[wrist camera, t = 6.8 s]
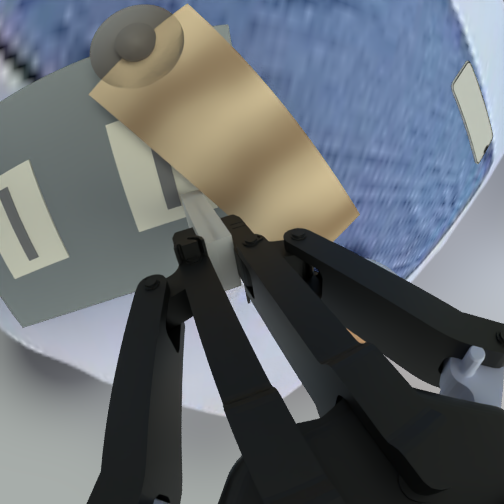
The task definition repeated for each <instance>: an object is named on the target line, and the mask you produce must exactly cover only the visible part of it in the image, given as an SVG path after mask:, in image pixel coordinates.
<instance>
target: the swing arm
mask: <svg viewBox="0 0 504 504" xmlns="http://www.w3.org/2000/svg"><path fill="white" fill-rule="evenodd" d="M90 61H91V65H92V67H93V69H94V71H95V73H96V74H97V76H98V77H99V78H100V79H101V81H100V82H99V83H98V84H97V85H96V86H95V88H94V89H93V90H92V91H91V92H90V93H89V95H90V96H91V97H92V98H93V99H95V100H96V101H97V102H98V103H99V104H100V105H102V106H103V107H104V108H105V109H106V110H107V111H109V112H110V113H111V114H112V115H113V116H115V117H116V118H117V119H118V120H119V121H120V122H122V123H123V124H124V125H125V126H126V127H127V128H129V129H130V130H131V131H132V132H133V133H134V134H136V135H137V136H138V137H139V138H140V139H141V140H143V141H144V142H145V143H146V144H147V145H148V146H149V147H151V148H152V149H153V150H154V151H155V152H156V153H158V154H159V155H160V156H161V157H162V158H163V159H164V160H166V161H167V162H168V163H169V164H170V165H171V166H173V167H174V168H175V169H176V170H177V171H178V172H179V173H181V174H182V175H183V176H184V177H185V178H186V179H187V180H189V181H190V182H191V183H192V184H193V185H194V186H195V187H197V188H198V189H199V190H200V191H201V192H202V193H203V194H205V195H206V196H207V197H208V198H209V199H210V200H211V201H213V202H214V203H215V204H216V205H217V206H218V207H219V208H220V209H222V210H223V211H224V212H225V213H226V214H227V215H228V216H229V215H232V214H234V215H236V216H239V217H240V218H241V219H242V220H243V222H245V224H246V225H247V226H248V227H249V228H250V229H251V231H252V232H253V233H254V234H259V235H262V236H264V237H265V238H266V239H267V240H268V241H280V240H284V239H283V235H284V233H285V232H287V231H288V230H291V229H294V228H304V229H307V230H310V231H312V232H314V233H316V234H318V235H320V236H322V237H324V238H326V239H328V240H330V241H332V242H333V241H334V240H335V239H336V238H337V237H338V236H339V235H340V234H341V233H342V232H343V231H344V230H345V229H346V228H347V227H348V226H349V225H350V224H351V223H352V222H353V221H354V220H355V219H356V218H357V217H358V216H359V215H360V214H359V212H358V211H357V209H356V207H355V206H354V204H353V202H352V201H351V199H350V198H349V196H348V194H347V193H346V191H345V190H344V188H343V187H342V185H341V184H340V182H339V181H338V179H337V178H336V176H335V175H334V173H333V172H332V170H331V169H330V167H329V166H328V164H327V163H326V161H325V160H324V158H323V157H322V156H321V154H320V153H319V151H318V150H317V149H316V147H315V146H314V144H313V143H312V142H311V140H310V139H309V138H308V136H307V135H306V134H305V132H304V131H303V130H302V128H301V127H300V126H299V124H298V123H297V122H296V120H295V119H294V118H293V116H292V115H291V114H290V113H289V111H288V110H287V109H286V108H285V106H284V105H283V104H282V103H281V101H280V100H279V99H278V98H277V97H276V95H275V94H274V93H273V92H272V91H271V89H270V88H269V87H268V86H267V85H266V83H265V82H264V81H263V80H262V79H261V78H260V77H259V75H258V74H257V73H256V72H255V71H254V70H253V69H252V67H251V66H250V65H249V64H248V63H247V62H246V61H245V60H244V59H243V58H242V57H241V55H240V54H239V53H238V52H237V51H236V50H235V49H234V48H233V47H232V46H231V45H230V44H229V43H228V42H227V41H226V40H225V39H224V38H223V37H222V36H221V35H220V34H219V33H218V32H217V31H216V30H215V29H214V28H213V27H212V26H211V25H210V24H209V23H208V22H207V21H206V20H205V19H204V18H203V17H202V16H200V15H199V14H198V13H197V12H196V11H195V10H194V9H193V8H192V7H191V6H189V5H188V4H186V5H185V6H183V7H182V8H181V9H179V10H178V11H177V12H175V13H174V14H172V13H170V12H169V11H167V10H166V9H164V8H161V7H158V6H154V5H135V6H131V7H127V8H124V9H122V10H120V11H118V12H116V13H114V14H113V15H111V16H110V17H109V18H108V19H106V20H105V21H104V22H103V23H102V24H101V26H100V27H99V28H98V30H97V31H96V33H95V35H94V37H93V39H92V43H91V47H90Z"/></svg>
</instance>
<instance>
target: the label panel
mask: <svg viewBox="0 0 504 504" xmlns="http://www.w3.org/2000/svg"><path fill="white" fill-rule="evenodd" d="M212 27H213V28H214V29H215V30H216V31H217V32H218V33H219V34H220V35H221V36H222V37H223V38H224V39H225V40H226V41H227V42H228V43H229V44H230V45H231V46H232V44H231V38H230V33H229V27H228V25H218V26H212ZM100 81H101V79H100V78H99V77H98V76H97V74H96V73H95V71H94V69H93V67H92V65H91V61H90V57H88V58H85V59H83V60H80V61H78V62H75V63H73V64H71V65H68V66H66V67H64V68H62V69H59V70H57V71H55V72H53V73H51V74H49V75H47V76H45V77H43V78H41V79H39V80H37V81H35V82H33V83H31V84H30V85H28V86H26V87H24V88H22V89H21V90H19V91H17V92H16V93H14V94H12V95H11V96H9V97H7V98H6V99H4V100H3V101H1V102H0V296H1V298H2V299H3V301H4V302H5V304H6V305H7V307H8V308H9V310H10V311H11V312H12V314H13V315H14V317H15V318H16V319H17V321H18V322H19V323H20V325H21V326H22V327H23V328H24V327H27V326H30V325H33V324H36V323H39V322H43V321H46V320H49V319H52V318H55V317H58V316H61V315H64V314H68V313H71V312H74V311H77V310H80V309H83V308H86V307H89V306H92V305H96V304H99V303H102V302H105V301H108V300H111V299H114V298H117V297H120V296H123V295H127V294H130V293H133V292H135V291H136V288H137V286H138V284H139V282H140V281H142V280H143V279H144V278H146V277H148V276H151V275H154V274H160V275H163V276H164V277H165V278H167V277H169V276H170V275H172V274H173V273H174V272H175V271H176V270H177V269H178V266H179V264H178V261H177V258H176V255H175V252H174V249H173V248H174V244H173V240H172V237H173V235H174V233H175V232H179V231H182V230H185V229H188V228H189V226H188V222H187V218H186V215H185V211H184V207H183V203H182V199H181V194H185V193H188V192H192V191H195V190H199V189H198V188H197V187H195V186H194V185H193V184H192V183H191V182H190V181H189V180H187V179H186V178H185V177H184V176H183V175H182V174H181V173H179V172H178V171H177V170H176V169H175V168H174V167H173V166H171V165H170V164H169V163H168V162H167V161H166V160H164V159H163V158H162V157H161V156H160V155H159V154H158V153H156V152H155V151H154V150H153V149H152V148H151V147H149V146H148V145H147V144H146V143H145V142H144V141H143V140H141V139H140V138H139V137H138V136H137V135H136V134H134V133H133V132H132V131H131V130H130V129H129V128H127V127H126V126H125V125H124V124H123V123H122V122H120V121H119V120H118V119H117V118H116V117H115V116H113V115H112V114H111V113H110V112H109V111H107V110H106V109H105V108H104V107H103V106H102V105H100V104H99V103H98V102H97V101H96V100H95V99H93V98H92V97H91V96H90V95H89V93H90V92H91V91H92V90H93V89H94V88H95V86H96V85H97V84H98V83H99V82H100ZM203 195H204V196H205V197H206V199H207V200H208V202H209V203H210V205H211V206H212V208H213V209H214V211H215V212H216V213H217V215H218V216H219V218H222V217H225V216H228V215H227V214H226V213H225V212H224V211H223V210H222V209H220V208H219V207H218V206H217V205H216V204H215V203H214V202H213V201H211V200H210V199H209V198H208V197H207V196H206V195H205V194H203Z"/></svg>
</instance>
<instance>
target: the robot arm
mask: <svg viewBox="0 0 504 504" xmlns="http://www.w3.org/2000/svg"><path fill="white" fill-rule="evenodd" d="M181 199H182V203H183V207H184V211H185V215H186V218H187V222H188V226H189V228H188V229H185V230H182V231H179V232H175V233H174V235H173V237H172V240H173V244H174V248H173V249H174V252H175V255H176V258H177V261H178V264H179V266H178V269H177V270H176V271H175V272H174V273H173V274H172V275H170V276H169V277H167V278H165V277H164V276H163V275H160V274H154V275H151V276H148V277H146V278H144V279H143V280H142V281H140V282H139V284H138V286H137V288H136V291H135V295H134V298H133V302H132V306H131V309H130V313H129V317H128V321H127V324H126V328H125V332H124V336H123V341H122V345H121V349H120V354H119V358H118V363H117V367H116V372H115V377H114V382H113V387H112V393H111V398H110V404H109V410H108V417H107V423H106V430H105V438H104V446H103V455H102V465H101V473H100V475H99V477H98V479H97V481H96V484H95V486H94V488H93V491H92V493H91V495H90V497H89V500H88V502H87V504H180V501H181V495H182V450H181V449H182V448H181V412H182V373H183V350H184V332H185V324H184V321H186V320H188V319H189V318H191V317H192V316H194V320H195V323H196V326H197V329H198V333H199V336H200V339H201V342H202V345H203V348H204V351H205V354H206V357H207V360H208V363H209V366H210V369H211V372H212V375H213V377H214V380H215V383H216V386H217V389H218V391H219V394H220V397H221V400H222V402H223V408H224V411H225V414H226V416H227V419H228V421H229V424H230V427H231V429H232V432H233V434H234V437H235V439H236V442H237V444H238V446H239V449H240V451H241V454H242V456H241V457H240V458H239V459H238V460H237V461H236V463H235V464H234V466H233V467H232V469H231V471H230V472H229V475H228V477H227V480H226V483H225V485H224V488H223V491H222V494H221V497H220V499H219V502H218V504H504V410H503V409H501V402H502V392H503V379H504V324H502V323H499V322H495V321H491V320H488V319H485V318H481V317H477V316H474V315H470V314H467V313H462V312H461V311H459V310H457V309H456V308H454V307H452V306H450V305H449V304H447V303H445V302H443V301H441V300H440V299H438V298H437V297H435V296H433V295H431V294H429V293H428V292H426V291H424V290H422V289H421V288H419V287H417V286H415V285H413V284H412V283H410V282H408V281H406V280H404V279H403V278H401V277H399V276H397V275H395V274H393V273H392V272H390V271H388V270H386V269H384V268H382V267H380V266H378V265H377V264H375V263H373V262H371V261H369V260H367V259H365V258H363V257H361V256H359V255H357V254H355V253H354V252H352V251H350V250H348V249H346V248H344V247H342V246H340V245H338V244H336V243H334V242H332V241H330V240H328V239H326V238H324V237H322V236H320V235H318V234H316V233H314V232H312V231H310V230H307V229H304V228H294V229H291V230H288V231H287V232H285V233H284V235H283V239H284V240H280V241H268V240H267V239H266V238H265V237H264V236H262V235H259V234H254V233H253V232H252V231H251V229H250V228H249V227H248V226H247V225H246V224H245V222H243V220H242V219H241V218H240V217H239V216H236V215H234V214H232V215H229V216H225V217H222V218H219V216H218V215H217V213H216V212H215V211H214V209H213V208H212V206H211V205H210V203H209V202H208V200H207V199H206V197H205V196H204V195H203V193H202V192H201V191H200V190H195V191H192V192H188V193H185V194H181ZM314 267H315V268H316V269H318V270H319V272H316V271H314ZM240 278H241V279H242V281H243V283H244V287H245V292H246V297H247V301H248V303H250V300H251V301H252V303H253V305H254V306H255V308H256V310H257V311H258V313H259V315H260V316H261V318H262V319H263V321H264V323H265V324H266V326H267V328H268V329H269V331H270V333H271V334H272V336H273V337H274V339H275V341H276V342H277V344H278V346H279V347H280V349H281V350H282V352H283V354H284V355H285V357H286V358H287V360H288V362H289V363H290V365H291V366H292V368H293V370H294V371H295V373H296V374H297V376H298V378H299V379H300V381H301V382H302V384H303V385H304V387H305V388H306V390H307V392H308V393H309V395H310V396H311V398H312V400H313V401H314V403H315V405H316V407H317V410H318V414H319V416H320V418H319V419H315V420H311V421H306V422H302V423H297V424H296V423H295V421H294V419H293V417H292V416H291V414H290V412H289V410H288V408H287V406H286V405H285V403H284V401H283V399H282V397H281V395H280V394H279V392H278V390H277V389H276V388H275V387H273V386H272V385H271V383H270V382H269V380H268V378H267V376H266V374H265V372H264V370H263V368H262V366H261V364H260V362H259V360H258V358H257V356H256V354H255V352H254V350H253V348H252V346H251V344H250V342H249V340H248V338H247V336H246V334H245V332H244V330H243V328H242V326H241V324H240V322H239V320H238V318H237V316H236V314H235V312H234V310H233V307H232V305H231V303H230V301H229V299H228V297H227V295H226V293H225V291H227V290H230V289H233V288H235V287H238V286H241V280H240ZM346 328H347V329H348V330H350V331H351V332H352V333H354V334H355V335H357V336H358V337H360V338H361V339H362V340H364V341H365V343H359V342H358V341H357V340H356V339H355V338H354V337H353V336H352V334H351V333H350V332H349V331H348V330H347V329H346ZM383 354H384V355H385V356H386V357H388V358H390V359H391V360H392V361H394V362H395V363H396V364H398V365H399V366H401V367H402V368H404V369H405V370H407V371H408V372H409V373H411V374H412V375H414V376H416V377H417V378H419V379H421V380H422V381H424V382H427V383H429V384H431V385H433V386H436V387H439V388H440V389H441V391H440V394H436V393H432V392H428V391H424V390H420V389H416V388H412V387H411V386H410V385H409V383H408V382H407V381H406V380H405V379H404V378H403V376H402V375H401V374H400V373H399V372H398V371H397V370H396V368H395V367H394V366H393V365H392V364H391V363H390V362H389V361H388V359H387V358H386V357H385V356H384V355H383Z"/></svg>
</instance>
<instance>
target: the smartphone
mask: <svg viewBox="0 0 504 504" xmlns="http://www.w3.org/2000/svg"><path fill="white" fill-rule="evenodd" d="M451 89H452V93H453V95H454V98H455V100H456V103H457V106H458V108H459V111H460V114H461V117H462V120H463V123H464V126H465V129H466V132H467V135H468V139H469V142H470V146H471V150H472V153H473V156H474V160H475V163H477V164H479V163H480V161H481V159H482V157H483V156H484V154H485V152H486V150H487V148H488V146H489V145H490V143H491V141H492V138H493V133H492V128H491V124H490V120H489V117H488V113H487V109H486V106H485V102H484V99H483V96H482V93H481V90H480V87H479V84H478V81H477V78H476V75H475V73H474V70H473V67H472V65H471V63H470V62H469V61H466V62H465V64H464V65H463V67H462V68H461V70H460V71H459V73H458V74H457V76H456V77H455V79H454V80H453V82H452V84H451Z"/></svg>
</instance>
